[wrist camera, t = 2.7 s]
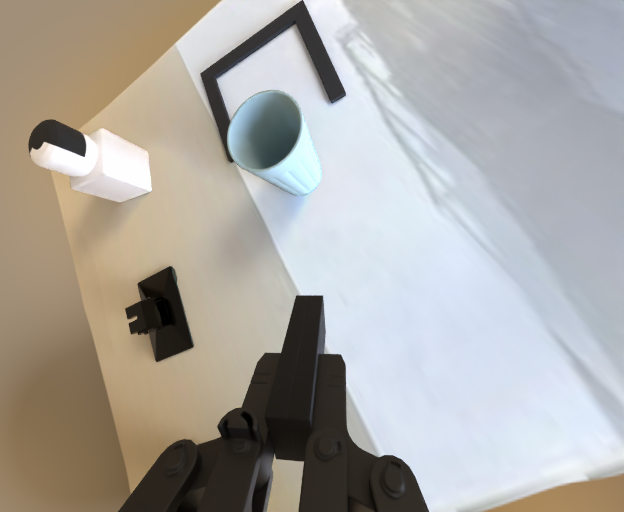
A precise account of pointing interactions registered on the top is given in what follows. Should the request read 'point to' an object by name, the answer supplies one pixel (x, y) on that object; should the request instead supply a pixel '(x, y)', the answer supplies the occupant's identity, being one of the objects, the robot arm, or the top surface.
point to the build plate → (161, 315)
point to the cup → (274, 142)
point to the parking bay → (259, 39)
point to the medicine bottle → (92, 160)
